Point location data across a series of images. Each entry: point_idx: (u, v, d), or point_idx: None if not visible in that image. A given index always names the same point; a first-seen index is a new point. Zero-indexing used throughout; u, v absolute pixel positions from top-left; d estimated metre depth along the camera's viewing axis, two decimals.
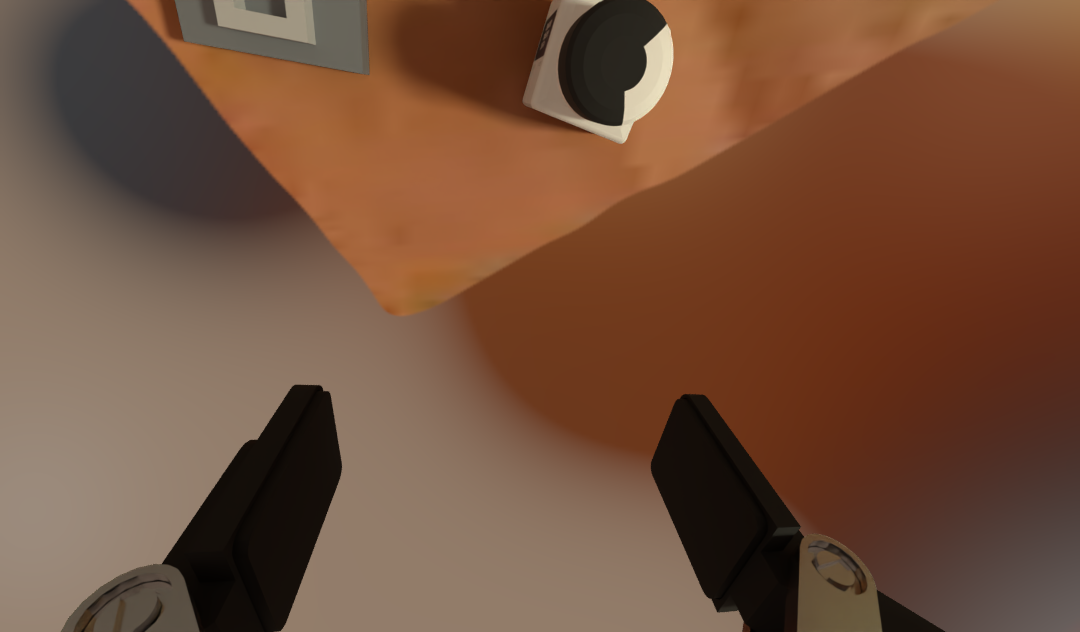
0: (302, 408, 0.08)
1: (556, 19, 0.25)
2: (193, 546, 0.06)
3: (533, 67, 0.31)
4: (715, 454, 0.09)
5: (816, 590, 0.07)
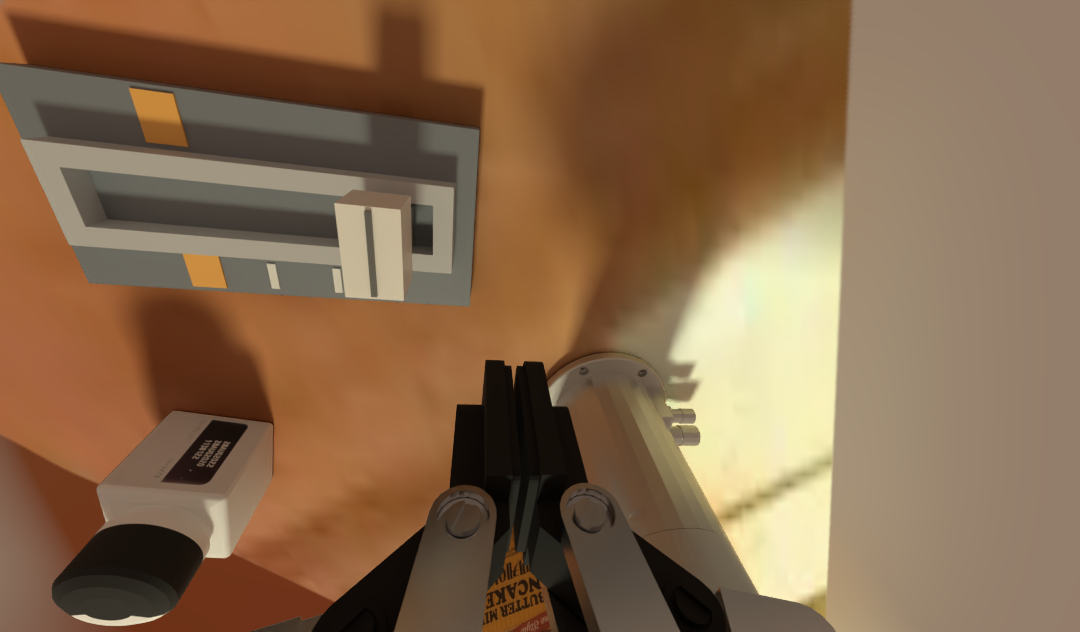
0: (503, 378, 0.10)
1: (189, 492, 0.28)
2: (490, 471, 0.08)
3: (196, 428, 0.32)
4: (523, 413, 0.09)
5: (589, 553, 0.07)
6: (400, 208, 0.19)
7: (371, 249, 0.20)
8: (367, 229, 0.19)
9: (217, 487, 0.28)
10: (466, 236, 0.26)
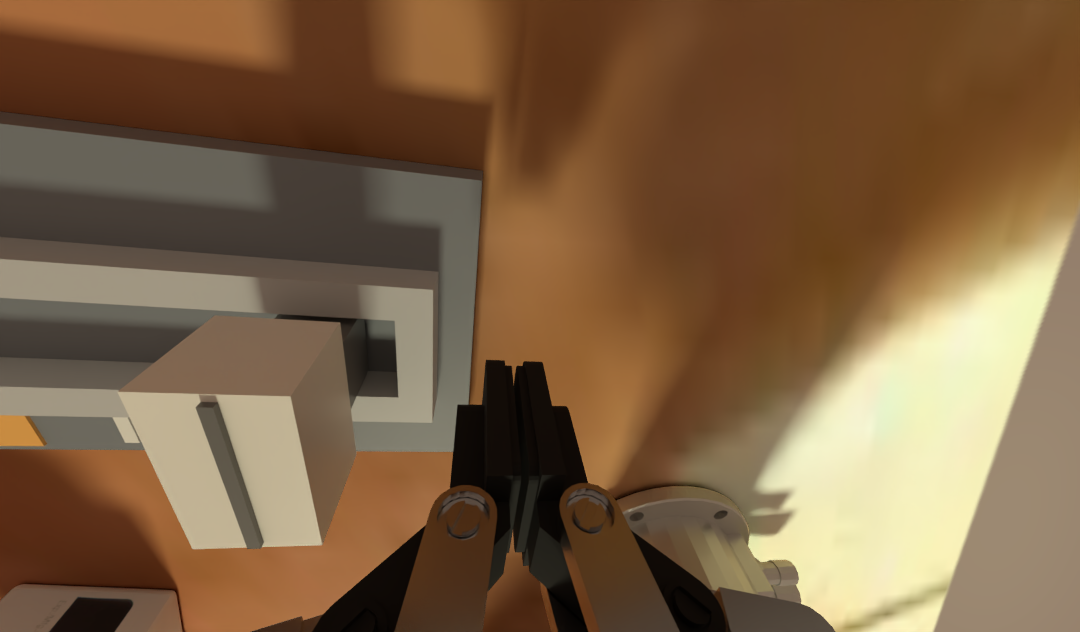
0: (503, 378, 0.10)
1: None
2: (491, 471, 0.08)
3: (45, 620, 0.21)
4: (522, 413, 0.09)
5: (589, 553, 0.07)
6: (293, 388, 0.08)
7: (231, 473, 0.08)
8: (213, 440, 0.08)
9: None
10: (459, 354, 0.15)
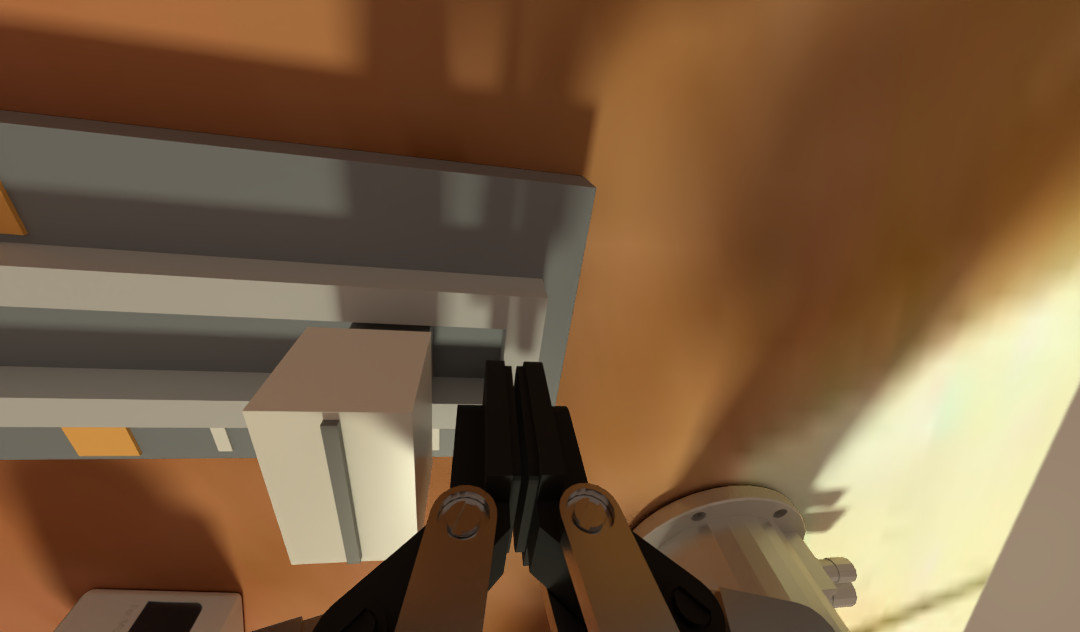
0: (503, 378, 0.10)
1: None
2: (491, 471, 0.08)
3: (120, 625, 0.21)
4: (522, 413, 0.09)
5: (589, 553, 0.07)
6: (411, 404, 0.08)
7: (343, 490, 0.08)
8: (331, 457, 0.08)
9: None
10: (552, 360, 0.15)
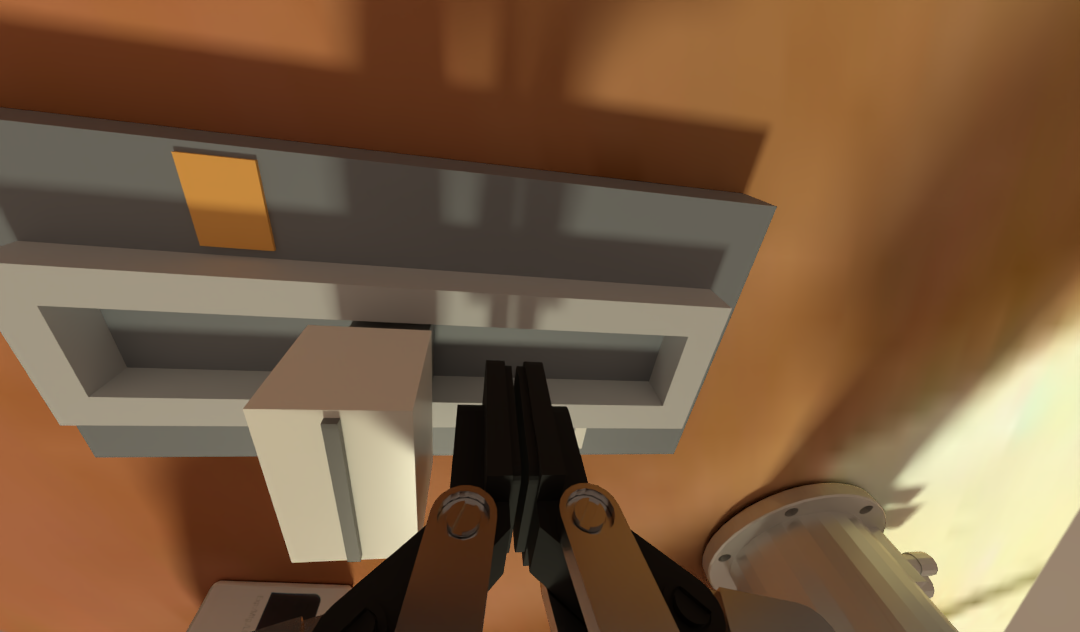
0: (503, 378, 0.10)
1: None
2: (491, 471, 0.08)
3: (251, 614, 0.22)
4: (522, 413, 0.09)
5: (589, 553, 0.07)
6: (412, 402, 0.08)
7: (344, 488, 0.08)
8: (332, 455, 0.08)
9: None
10: None
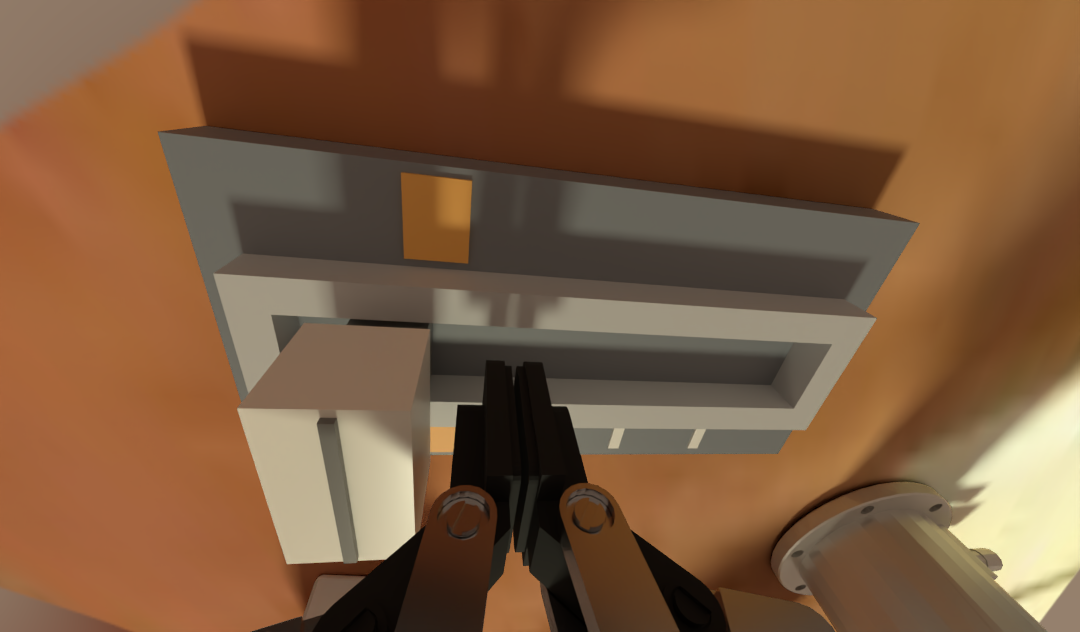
0: (503, 377, 0.10)
1: None
2: (491, 471, 0.08)
3: None
4: (522, 413, 0.09)
5: (589, 553, 0.07)
6: (410, 402, 0.08)
7: (340, 489, 0.08)
8: (328, 456, 0.08)
9: None
10: None
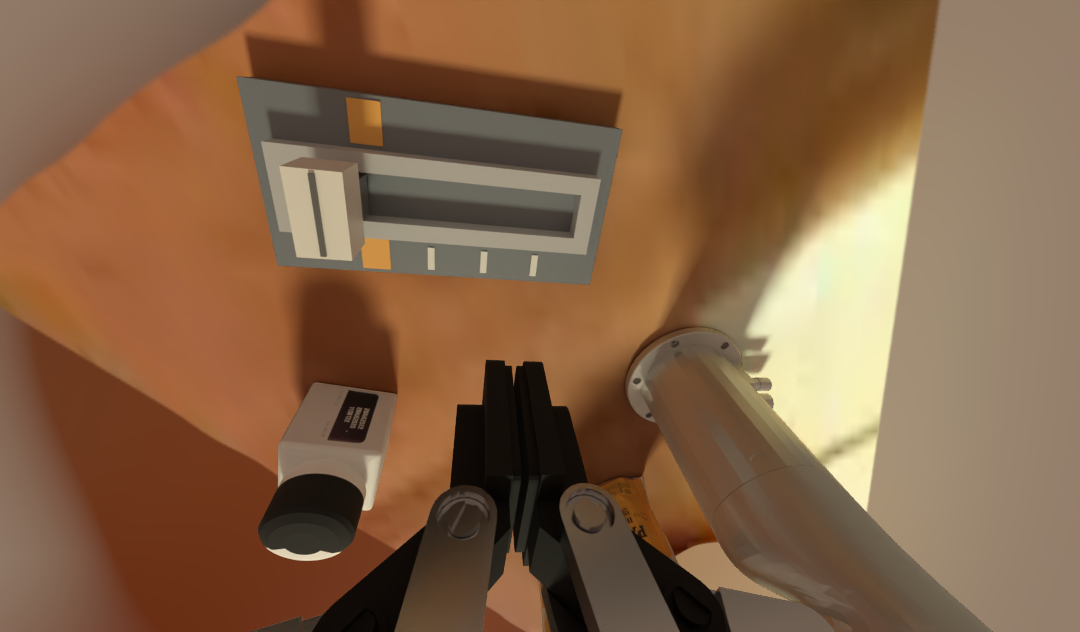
0: (503, 378, 0.10)
1: (351, 449, 0.32)
2: (491, 471, 0.08)
3: (339, 397, 0.36)
4: (522, 413, 0.09)
5: (589, 553, 0.07)
6: (342, 171, 0.21)
7: (317, 210, 0.21)
8: (312, 191, 0.21)
9: (372, 445, 0.33)
10: (597, 222, 0.30)
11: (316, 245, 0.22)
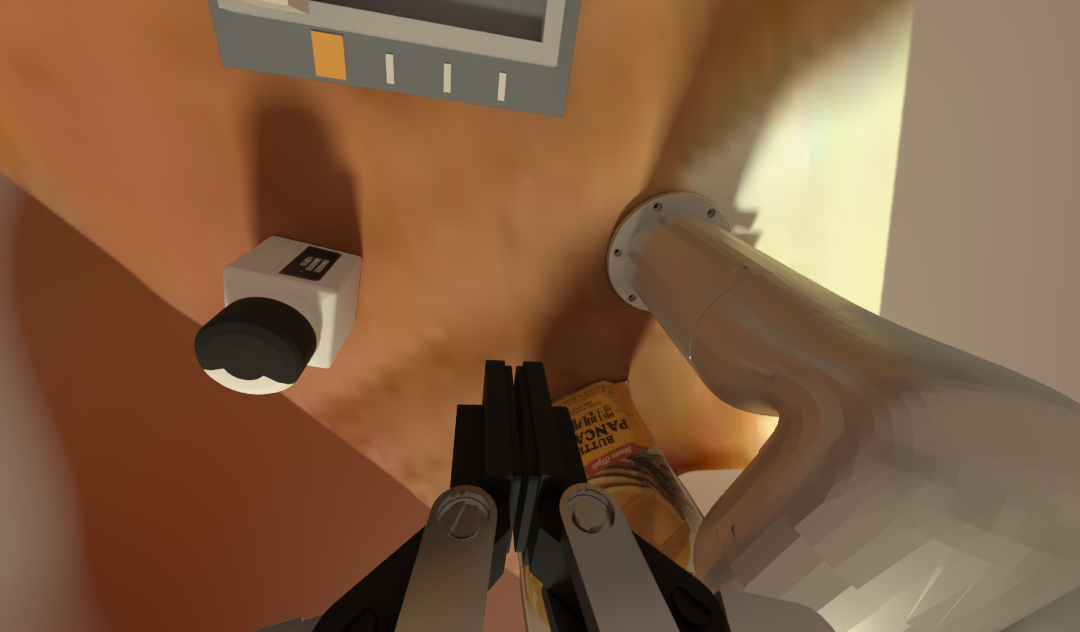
0: (503, 377, 0.10)
1: (304, 283, 0.29)
2: (491, 471, 0.08)
3: (297, 248, 0.34)
4: (522, 413, 0.09)
5: (589, 553, 0.07)
6: None
7: None
8: None
9: (328, 284, 0.30)
10: (569, 33, 0.28)
11: None
